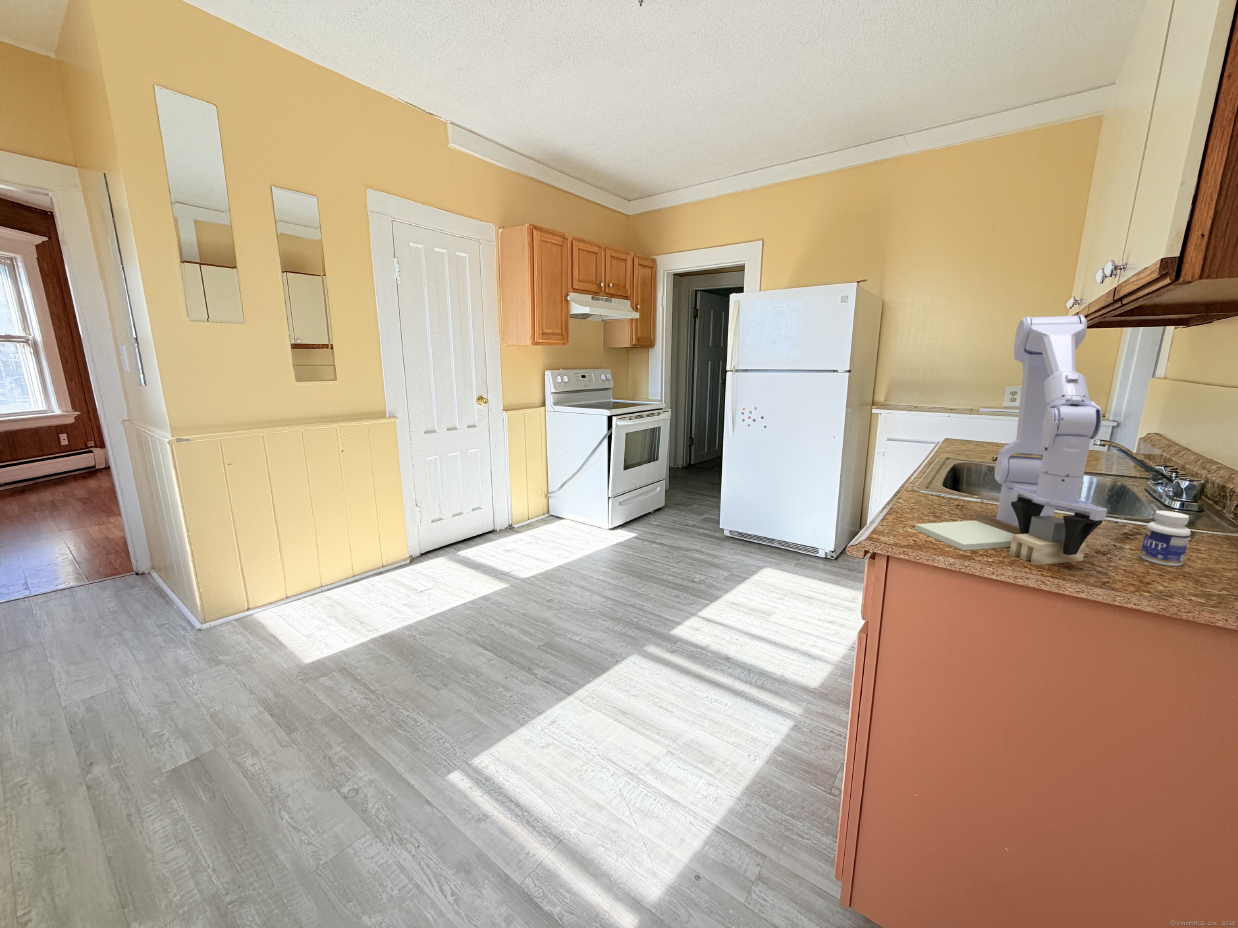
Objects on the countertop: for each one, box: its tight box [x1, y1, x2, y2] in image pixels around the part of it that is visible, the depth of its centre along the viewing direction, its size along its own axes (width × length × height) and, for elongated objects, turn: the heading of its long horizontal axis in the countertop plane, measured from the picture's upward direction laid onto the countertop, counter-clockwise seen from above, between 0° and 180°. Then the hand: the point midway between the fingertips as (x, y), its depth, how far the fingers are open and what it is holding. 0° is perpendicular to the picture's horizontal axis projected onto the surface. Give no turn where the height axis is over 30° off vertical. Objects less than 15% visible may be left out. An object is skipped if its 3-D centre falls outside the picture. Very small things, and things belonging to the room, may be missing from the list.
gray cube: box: [1029, 515, 1065, 542], centre depth 88 cm, size 4×4×4 cm
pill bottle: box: [1139, 510, 1191, 567], centre depth 87 cm, size 5×5×9 cm
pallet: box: [1009, 534, 1087, 566], centre depth 89 cm, size 10×5×4 cm, turn 101°
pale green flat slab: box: [914, 513, 1020, 551], centre depth 99 cm, size 16×12×3 cm
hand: (1047, 546), depth 89 cm, fingers open, 7 cm apart
